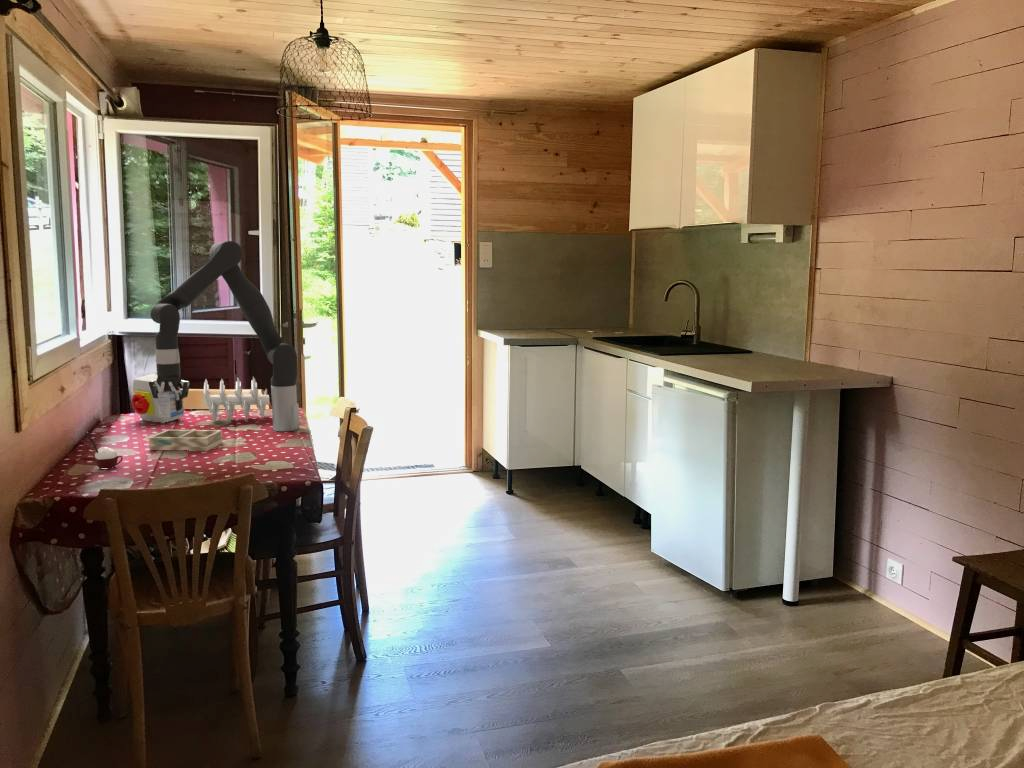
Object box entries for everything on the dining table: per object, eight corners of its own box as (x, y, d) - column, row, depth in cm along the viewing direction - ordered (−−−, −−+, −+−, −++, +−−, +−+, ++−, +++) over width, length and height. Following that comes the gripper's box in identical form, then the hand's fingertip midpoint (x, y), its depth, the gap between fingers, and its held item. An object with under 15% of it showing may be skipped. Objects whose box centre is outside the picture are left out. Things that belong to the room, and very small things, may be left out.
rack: (222, 442, 286) (221, 430, 286) (206, 451, 273) (205, 438, 272) (167, 442, 287) (167, 429, 287) (149, 450, 274) (148, 437, 273)
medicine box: (170, 418, 275) (168, 393, 273) (158, 417, 276) (157, 392, 274) (184, 413, 282) (182, 389, 281) (172, 413, 283) (171, 389, 282)
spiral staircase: (269, 430, 326) (203, 431, 318) (268, 405, 340) (205, 405, 332) (270, 393, 316) (202, 393, 308) (268, 369, 330) (204, 368, 322)
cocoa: (123, 466, 255) (123, 428, 254) (119, 470, 249) (118, 432, 248) (91, 466, 253) (90, 429, 252) (85, 471, 247) (84, 432, 246)
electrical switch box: (129, 427, 323) (118, 379, 318) (161, 416, 335) (152, 370, 330) (152, 431, 315) (141, 382, 310) (184, 419, 328) (174, 372, 322)
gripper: (193, 360, 279) (196, 408, 282) (153, 360, 280) (156, 408, 283) (183, 363, 272) (186, 412, 275) (142, 363, 273) (145, 412, 275)
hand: (171, 410), depth 279 cm, fingers closed on medicine box, 4 cm apart
